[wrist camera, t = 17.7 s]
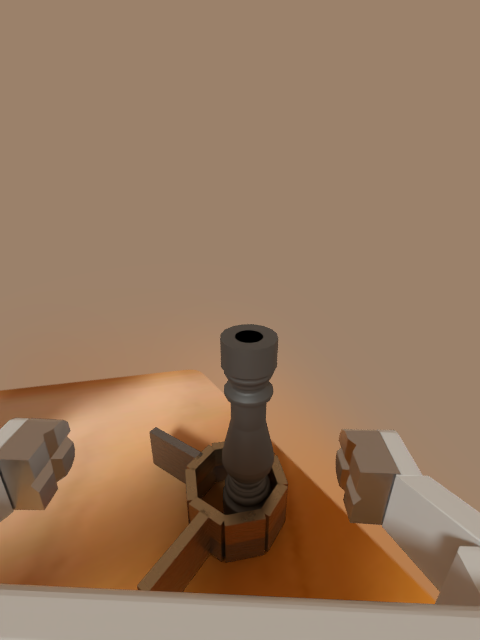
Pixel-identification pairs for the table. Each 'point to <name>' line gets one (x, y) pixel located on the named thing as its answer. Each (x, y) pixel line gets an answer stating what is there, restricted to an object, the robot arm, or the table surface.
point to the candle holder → (247, 415)
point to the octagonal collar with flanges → (210, 515)
